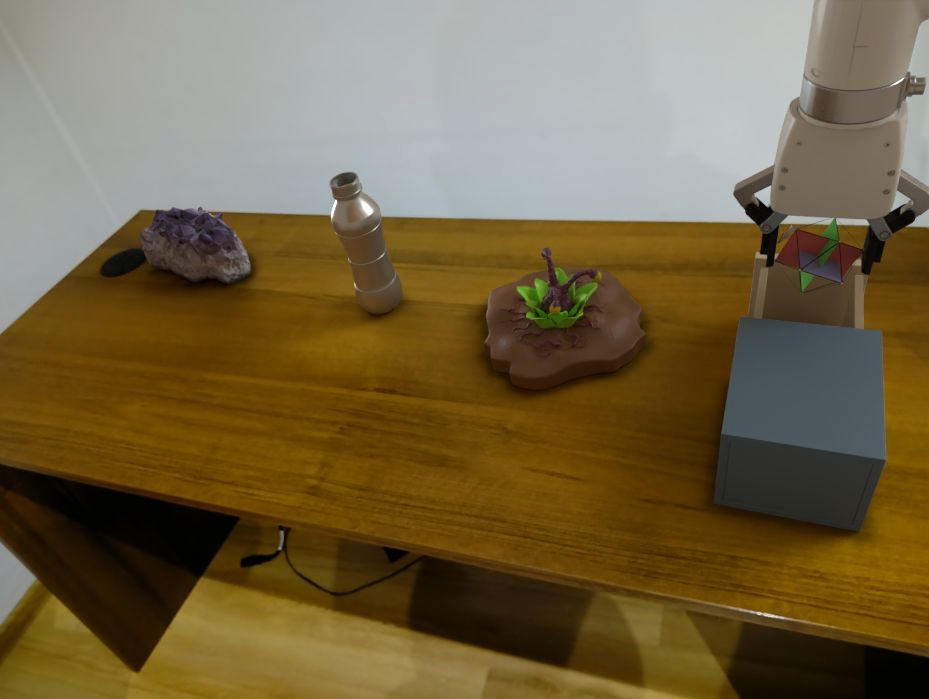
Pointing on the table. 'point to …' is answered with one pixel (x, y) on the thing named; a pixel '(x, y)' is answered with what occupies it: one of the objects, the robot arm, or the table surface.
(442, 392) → the table surface
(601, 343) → the plant
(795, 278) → the drawer
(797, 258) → the geometric puzzle
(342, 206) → the plastic bottle
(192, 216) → the geode
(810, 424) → the cabinet
